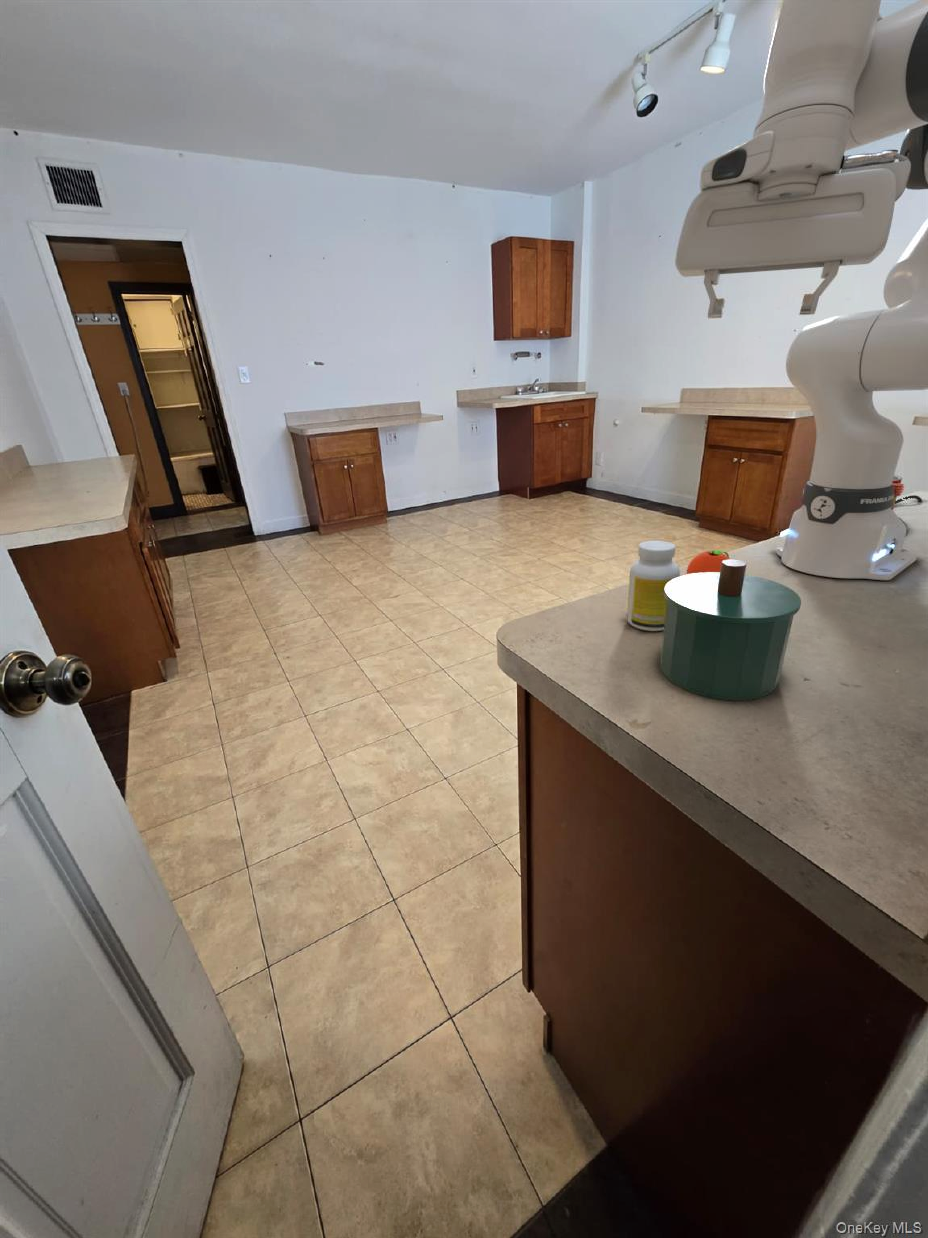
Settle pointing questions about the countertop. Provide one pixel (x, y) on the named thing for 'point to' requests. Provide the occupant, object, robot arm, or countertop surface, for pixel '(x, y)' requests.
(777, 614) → the lid
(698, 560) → the clementine
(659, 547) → the pill bottle
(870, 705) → the countertop surface
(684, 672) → the tin
